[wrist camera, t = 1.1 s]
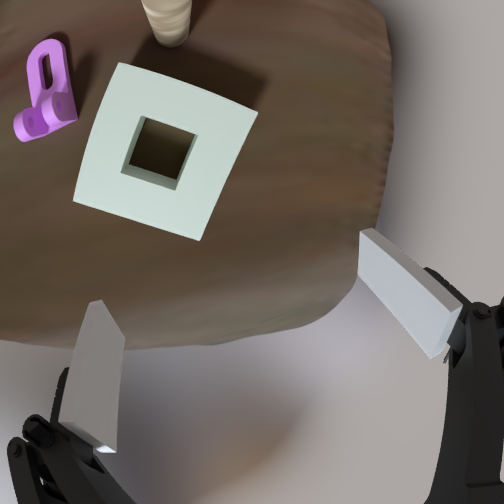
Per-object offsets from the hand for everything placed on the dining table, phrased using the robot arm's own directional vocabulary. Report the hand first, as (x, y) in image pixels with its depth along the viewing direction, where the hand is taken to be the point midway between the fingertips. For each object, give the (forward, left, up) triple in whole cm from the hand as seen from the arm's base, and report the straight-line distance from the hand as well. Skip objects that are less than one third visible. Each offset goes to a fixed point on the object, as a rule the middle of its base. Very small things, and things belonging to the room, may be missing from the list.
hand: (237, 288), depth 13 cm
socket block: (-6, +1, -24) cm, 25 cm away
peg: (-11, +15, -24) cm, 31 cm away
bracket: (-24, +5, -25) cm, 35 cm away
